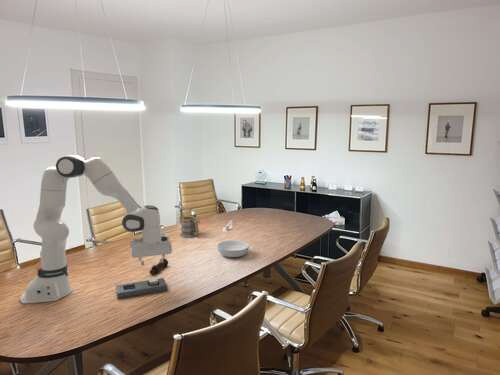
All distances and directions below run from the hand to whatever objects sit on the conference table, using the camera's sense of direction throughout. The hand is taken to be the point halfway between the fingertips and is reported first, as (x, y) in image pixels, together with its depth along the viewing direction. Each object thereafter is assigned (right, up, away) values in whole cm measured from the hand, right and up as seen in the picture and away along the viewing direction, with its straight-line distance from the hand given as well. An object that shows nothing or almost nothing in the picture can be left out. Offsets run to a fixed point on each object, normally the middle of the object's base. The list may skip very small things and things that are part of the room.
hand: (152, 263), depth 188 cm
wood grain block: (0, -14, +3) cm, 14 cm away
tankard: (+5, +1, +94) cm, 95 cm away
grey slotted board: (-5, -14, 0) cm, 15 cm away
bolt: (-4, -10, +27) cm, 29 cm away
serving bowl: (+39, -6, +54) cm, 67 cm away
